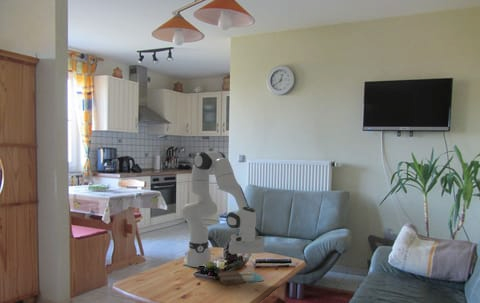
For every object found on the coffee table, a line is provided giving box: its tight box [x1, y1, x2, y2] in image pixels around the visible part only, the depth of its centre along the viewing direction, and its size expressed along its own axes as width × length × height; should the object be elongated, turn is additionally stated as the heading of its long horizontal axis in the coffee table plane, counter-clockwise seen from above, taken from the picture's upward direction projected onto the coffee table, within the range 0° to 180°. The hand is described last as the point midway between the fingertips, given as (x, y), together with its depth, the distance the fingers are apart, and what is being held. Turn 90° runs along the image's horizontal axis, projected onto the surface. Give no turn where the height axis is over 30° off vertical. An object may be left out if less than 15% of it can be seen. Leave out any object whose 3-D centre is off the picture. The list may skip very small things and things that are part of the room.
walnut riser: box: [219, 270, 244, 286], centre depth 209 cm, size 14×11×2 cm
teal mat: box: [244, 272, 264, 283], centre depth 213 cm, size 12×10×1 cm
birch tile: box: [238, 271, 254, 282], centre depth 211 cm, size 9×6×2 cm, turn 15°
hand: (245, 260), depth 212 cm, fingers closed
